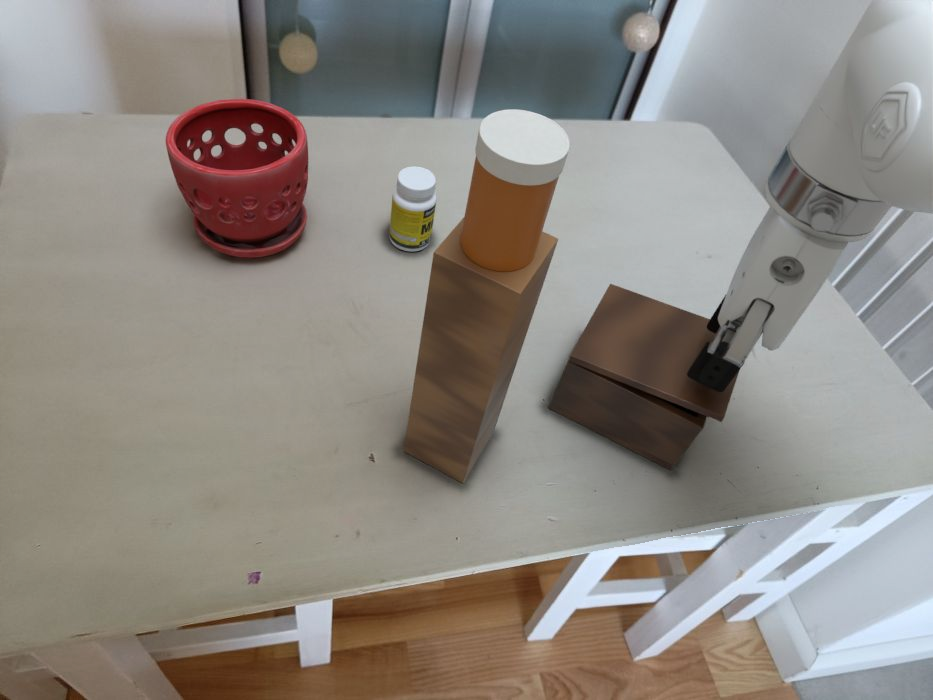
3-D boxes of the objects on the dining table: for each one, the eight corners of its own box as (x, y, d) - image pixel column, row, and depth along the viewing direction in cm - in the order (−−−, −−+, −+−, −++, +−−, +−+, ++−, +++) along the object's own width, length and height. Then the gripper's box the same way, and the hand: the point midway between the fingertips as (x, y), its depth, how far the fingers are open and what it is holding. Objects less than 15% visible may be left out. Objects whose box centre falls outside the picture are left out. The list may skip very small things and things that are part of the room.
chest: (699, 391, 70) (731, 347, 64) (670, 470, 63) (703, 428, 58) (586, 337, 72) (607, 289, 67) (547, 407, 66) (567, 361, 60)
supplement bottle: (424, 257, 76) (432, 197, 70) (383, 246, 76) (387, 185, 70) (435, 230, 79) (444, 170, 73) (396, 219, 79) (401, 158, 73)
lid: (748, 339, 63) (768, 300, 59) (721, 422, 56) (742, 383, 53) (608, 289, 67) (619, 249, 63) (568, 361, 60) (577, 321, 56)
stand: (493, 433, 63) (558, 238, 45) (462, 483, 59) (520, 293, 41) (436, 403, 64) (477, 201, 46) (403, 451, 60) (433, 251, 42)
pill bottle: (549, 239, 44) (583, 132, 38) (516, 285, 41) (548, 176, 35) (480, 208, 45) (503, 98, 39) (444, 250, 42) (463, 138, 36)
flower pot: (319, 196, 80) (317, 104, 71) (299, 277, 72) (293, 183, 62) (204, 181, 79) (186, 84, 69) (169, 261, 70) (144, 163, 61)
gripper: (872, 287, 39) (732, 451, 53) (897, 150, 50) (775, 316, 64) (747, 233, 41) (642, 406, 55) (797, 110, 51) (698, 281, 65)
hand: (714, 356), depth 59 cm, fingers closed on lid, 5 cm apart
